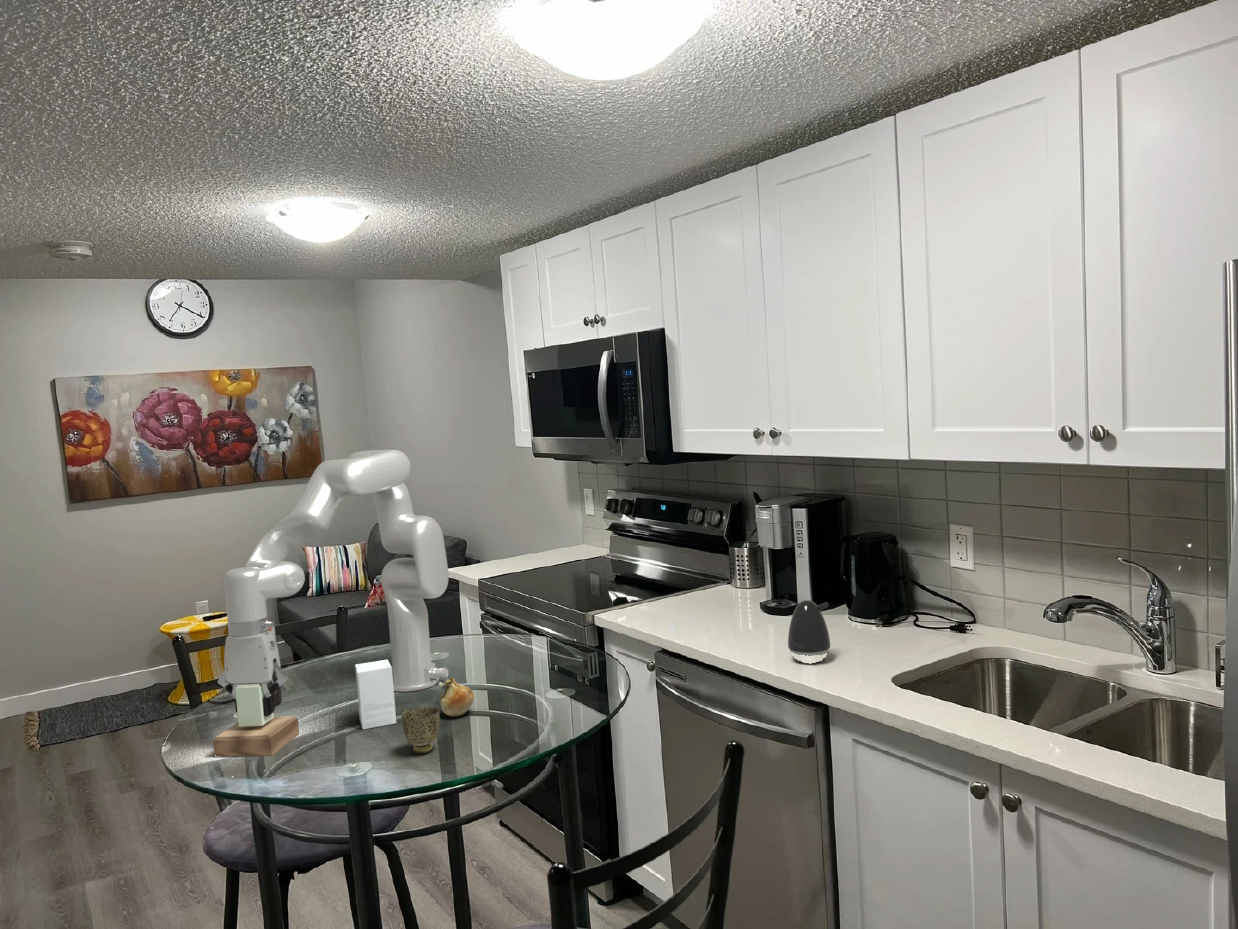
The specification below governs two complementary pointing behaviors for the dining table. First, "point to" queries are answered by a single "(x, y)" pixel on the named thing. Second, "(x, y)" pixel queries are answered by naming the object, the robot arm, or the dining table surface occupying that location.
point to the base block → (256, 738)
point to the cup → (421, 727)
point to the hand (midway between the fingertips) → (255, 714)
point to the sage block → (251, 705)
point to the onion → (455, 698)
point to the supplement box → (375, 694)
